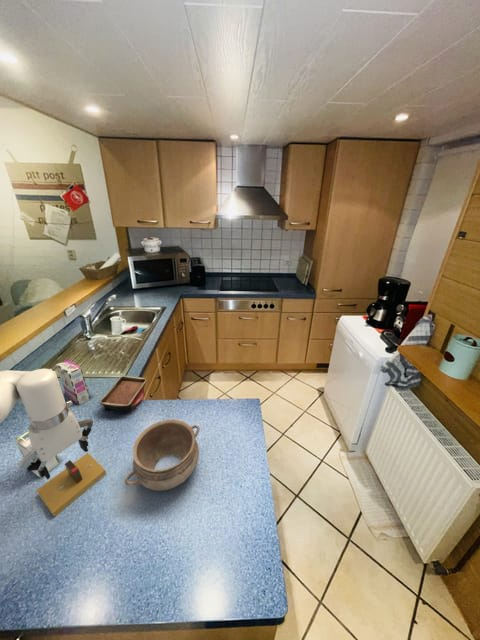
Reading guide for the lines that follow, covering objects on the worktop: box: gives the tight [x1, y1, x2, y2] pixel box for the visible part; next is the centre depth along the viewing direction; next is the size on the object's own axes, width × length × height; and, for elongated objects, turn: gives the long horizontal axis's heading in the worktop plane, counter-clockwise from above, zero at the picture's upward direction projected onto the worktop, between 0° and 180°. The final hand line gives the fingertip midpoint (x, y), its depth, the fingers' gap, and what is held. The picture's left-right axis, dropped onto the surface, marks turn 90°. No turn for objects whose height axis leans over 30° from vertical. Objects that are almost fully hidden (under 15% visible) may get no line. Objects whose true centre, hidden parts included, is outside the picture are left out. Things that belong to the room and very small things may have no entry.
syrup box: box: [14, 430, 60, 478], centre depth 75 cm, size 6×6×14 cm
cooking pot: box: [124, 419, 201, 492], centre depth 75 cm, size 25×19×12 cm
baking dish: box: [99, 375, 147, 414], centre depth 102 cm, size 14×18×10 cm
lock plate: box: [36, 452, 107, 518], centre depth 73 cm, size 14×10×3 cm
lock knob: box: [64, 460, 82, 484], centre depth 72 cm, size 5×2×5 cm, turn 56°
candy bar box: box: [55, 359, 91, 405], centre depth 103 cm, size 11×5×16 cm, turn 56°
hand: (66, 461), depth 70 cm, fingers open, 9 cm apart
